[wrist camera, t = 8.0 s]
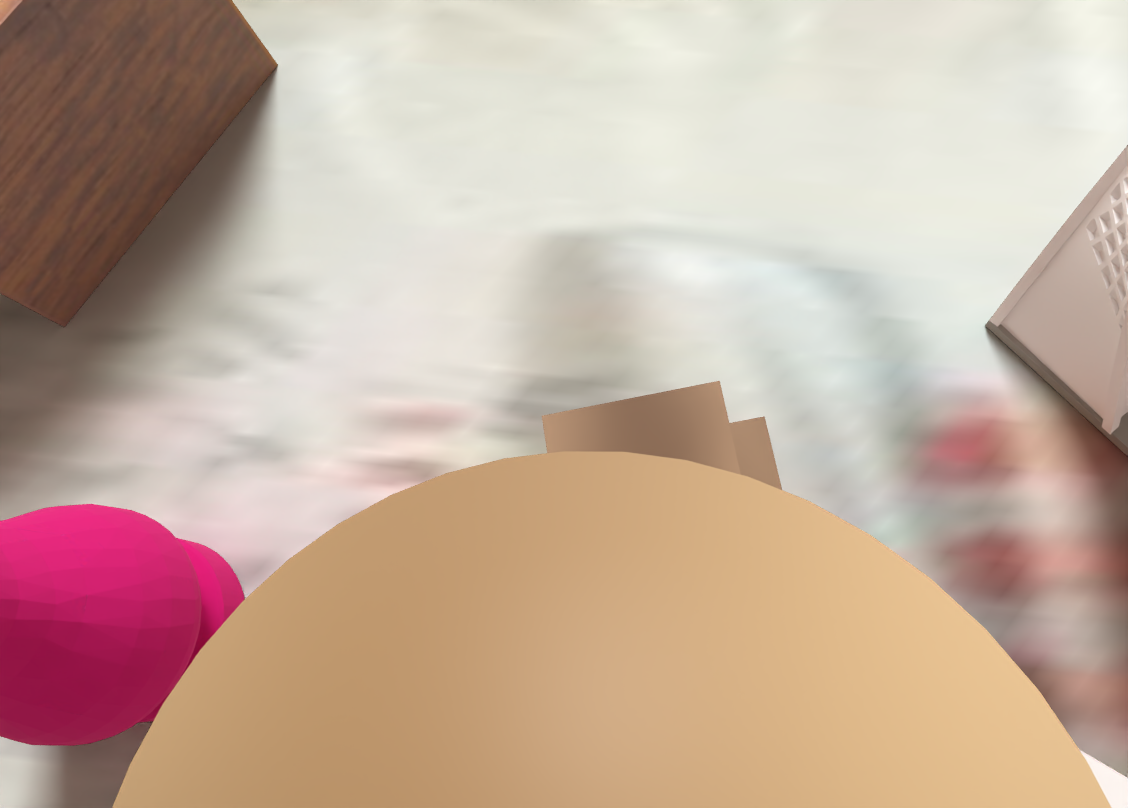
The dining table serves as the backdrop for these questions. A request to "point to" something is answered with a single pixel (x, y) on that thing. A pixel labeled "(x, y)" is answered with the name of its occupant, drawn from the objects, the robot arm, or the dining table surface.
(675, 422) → the stepped base
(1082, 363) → the skyscraper
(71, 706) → the pepper mill
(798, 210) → the dining table surface
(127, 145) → the tissue box cover
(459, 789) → the dowel
